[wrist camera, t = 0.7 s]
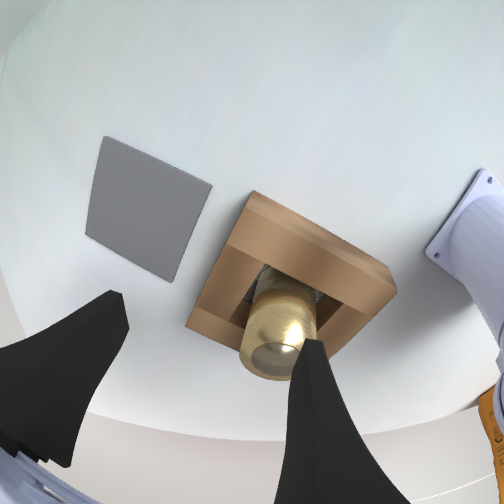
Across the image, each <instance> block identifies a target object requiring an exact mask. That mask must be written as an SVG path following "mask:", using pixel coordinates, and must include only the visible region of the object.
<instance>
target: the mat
mask: <svg viewBox="0 0 504 504" xmlns="http://www.w3.org/2000/svg"><path fill="white" fill-rule="evenodd" d="M211 188H212V185H210V184H208V183H206V182H204V181H202V180H200V179H198V178H196V177H194V176H192V175H190V174H188V173H186V172H184V171H182V170H180V169H178V168H176V167H173V166H171V165H169V164H167V163H165V162H163V161H161V160H159V159H156V158H154V157H152V156H150V155H148V154H146V153H144V152H141V151H139V150H137V149H135V148H133V147H130V146H128V145H126V144H124V143H121V142H119V141H117V140H115V139H112V138H110V137H108V136H105V137H103V140H102V144H101V148H100V152H99V157H98V161H97V166H96V170H95V175H94V180H93V186H92V191H91V197H90V203H89V210H88V217H87V224H86V232H85V234H86V235H87V236H89V237H91V238H92V239H94V240H96V241H97V242H99V243H101V244H102V245H104V246H106V247H107V248H109V249H111V250H113V251H114V252H116V253H118V254H119V255H121V256H123V257H125V258H126V259H128V260H130V261H132V262H133V263H135V264H137V265H139V266H141V267H142V268H144V269H146V270H148V271H150V272H151V273H153V274H155V275H157V276H159V277H161V278H163V279H164V280H166V281H168V282H170V283H172V282H173V280H174V277H175V275H176V272H177V270H178V267H179V264H180V262H181V259H182V257H183V254H184V252H185V249H186V247H187V244H188V242H189V240H190V237H191V235H192V232H193V230H194V228H195V225H196V223H197V220H198V218H199V216H200V213H201V211H202V209H203V206H204V204H205V202H206V200H207V197H208V195H209V193H210V191H211Z"/></svg>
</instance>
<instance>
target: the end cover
mask: <svg viewBox="0 0 504 504" xmlns="http://www.w3.org/2000/svg"><path fill="white" fill-rule="evenodd" d="M305 338H308V339H314V340H316V289H315V288H313V287H311V286H309V285H307V284H305V283H303V282H301V281H299V280H297V279H295V278H293V277H291V276H289V275H287V274H285V273H283V272H281V271H279V270H277V269H276V268H274V267H272V266H268V267H267V268H266V269H264V270H263V271H262V273H261V274H260V276H259V278H258V282H257V286H256V290H255V294H254V298H253V301H252V305H251V309H250V313H249V317H248V321H247V325H246V329H245V333H244V337H243V341H242V344H241V348H240V353H239V356H240V360H241V362H242V364H243V365H244V367H245V368H246V369H248V370H249V371H250V372H251V373H253V374H255V375H257V376H259V377H262V378H265V379H269V380H276V381H287V380H291V375H292V370H293V367H294V365H295V363H296V360H297V358H298V355H299V353H300V351H301V348H302V346H303V343H304V341H305Z"/></svg>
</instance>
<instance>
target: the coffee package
mask: <svg viewBox="0 0 504 504" xmlns="http://www.w3.org/2000/svg"><path fill="white" fill-rule="evenodd" d="M495 386H496V385H495ZM495 386H494V387H493V388H491V389H490V390H489V391H488V392H486V393H485V394H484V395H482V396H481V397H480V398H479V401H478V403H479V408H478V410H479V415H480V418H481V421H482V424H483V427H484V429H485V431H486V434H487V436H488V438H489V440H490V443H491V447H492V452H493V456H494V467H495V472H496V478H497V482H498V489H499V500H500V503H499V504H504V435H503V433H502V432H501V430H500V428H499V426H498V424H497V421H496V418H495V414H494V408H493V394H494V388H495Z"/></svg>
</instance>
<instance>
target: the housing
mask: <svg viewBox="0 0 504 504" xmlns="http://www.w3.org/2000/svg"><path fill="white" fill-rule="evenodd" d="M265 263H266V264H268V265H270V266H272V267H274V268H276V269H277V270H279V271H281V272H283V273H285V274H287V275H289V276H291V277H293V278H295V279H297V280H299V281H301V282H303V283H305V284H307V285H309V286H311V287H313V288H315V289H317V290H319V291H321V292H323V293H325V295H324V297H323V298H322V299H321V300H320V301H319V303H318V304H317V305H316V340H320V341H322V342H323V343H324V347H325V350H326V354H327V357H328V360H329V359H330V358H331V357H332V356H333V355H334V354H335V353H337V352H338V351H339V350H340V349H341V348H342V347H343V346H344V345H345V344H346V343H347V342H349V341H350V340H351V339H352V338H353V337H354V336H355V335H356V334H357V333H358V332H359V331H360V330H361V329H362V328H363V327H364V326H365V325H366V324H367V323H368V322H369V321H370V320H371V319H372V318H373V317H374V316H375V315H376V314H377V313H378V312H379V311H380V310H381V309H382V308H383V307H384V306H385V305H386V304H387V303H388V302H389V301H390V300H391V299H392V298H393V297H394V295H395V294H396V293H397V292H398V291H397V288H396V286H395V283H394V281H393V278H392V276H391V273H390V271H389V269H388V267H387V266H386V265H384V264H383V263H381V262H379V261H378V260H376V259H375V258H373V257H371V256H370V255H368V254H366V253H365V252H363V251H361V250H360V249H358V248H356V247H355V246H353V245H351V244H350V243H348V242H346V241H345V240H343V239H341V238H339V237H338V236H336V235H334V234H333V233H331V232H329V231H327V230H326V229H324V228H322V227H320V226H319V225H317V224H315V223H313V222H312V221H310V220H308V219H306V218H304V217H303V216H301V215H299V214H297V213H295V212H293V211H292V210H290V209H288V208H286V207H284V206H282V205H281V204H279V203H277V202H275V201H273V200H271V199H269V198H267V197H266V196H264V195H262V194H260V193H258V192H256V191H254V190H253V192H252V194H251V196H250V198H249V199H248V201H247V203H246V205H245V207H244V209H243V211H242V213H241V215H240V217H239V219H238V221H237V222H236V224H235V226H234V228H233V230H232V232H231V234H230V236H229V238H228V240H227V242H226V244H225V246H224V248H223V250H222V252H221V254H220V256H219V258H218V260H217V262H216V263H215V265H214V267H213V269H212V271H211V273H210V275H209V277H208V279H207V281H206V283H205V285H204V287H203V290H202V292H201V294H200V296H199V298H198V300H197V302H196V304H195V306H194V308H193V310H192V312H191V314H190V316H189V318H188V320H187V322H186V324H185V327H187V328H189V329H191V330H193V331H195V332H197V333H199V334H202V335H204V336H206V337H208V338H210V339H212V340H214V341H216V342H219V343H221V344H223V345H225V346H227V347H230V348H232V349H234V350H236V351H239V352H240V348H241V344H242V341H243V337H244V333H245V329H246V325H247V321H248V317H249V313H250V309H251V305H252V303H250V302H248V301H246V300H244V299H243V297H244V295H245V294H246V292H247V291H248V289H249V288H250V286H251V285H252V283H253V282H254V280H255V278H256V277H257V275H258V274H259V272H260V271H261V269H262V267H263V266H264V264H265Z"/></svg>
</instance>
